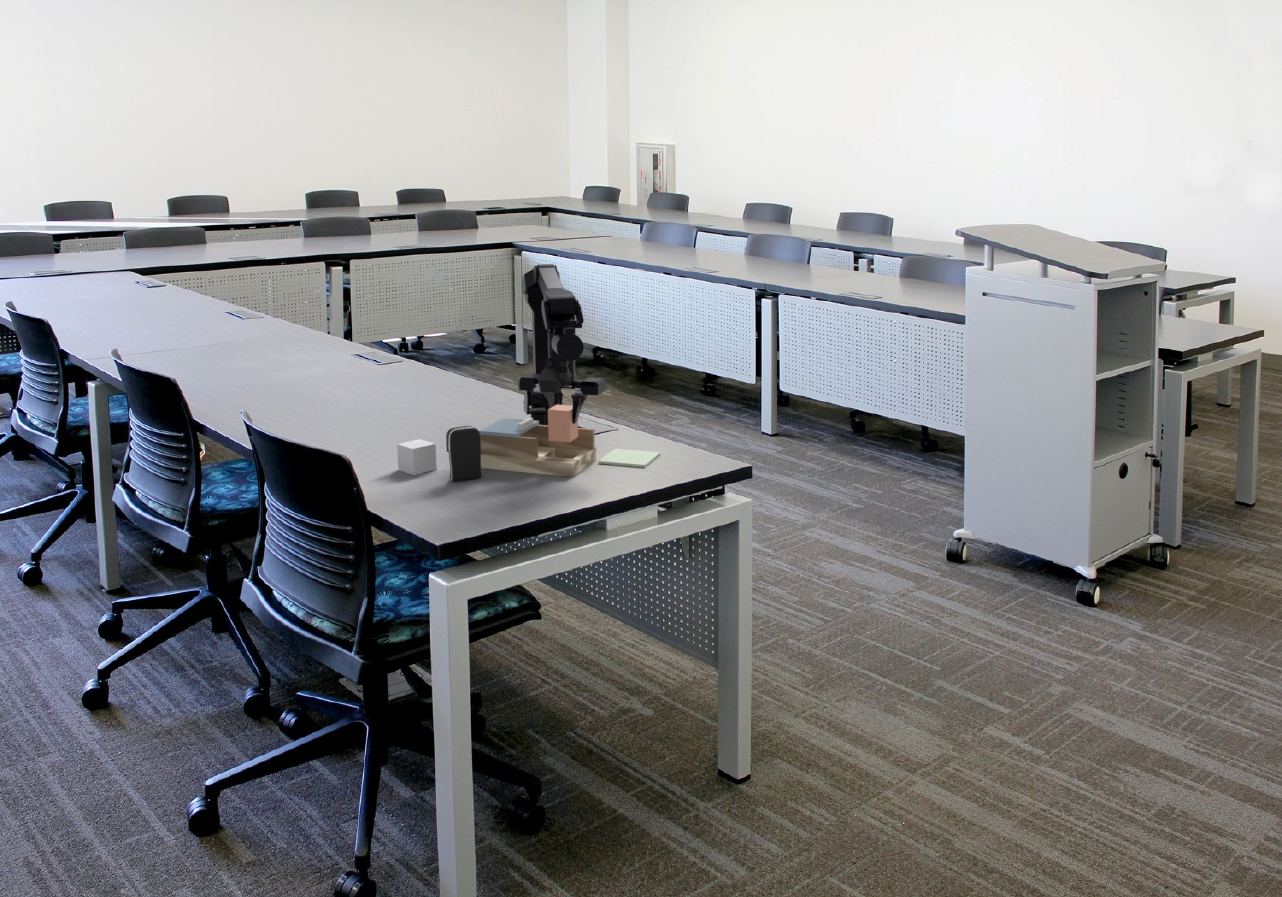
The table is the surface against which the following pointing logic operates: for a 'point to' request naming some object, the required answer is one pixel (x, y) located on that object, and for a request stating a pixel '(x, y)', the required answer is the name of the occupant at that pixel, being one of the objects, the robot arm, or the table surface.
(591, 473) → the table surface
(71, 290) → the table surface
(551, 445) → the open storage box
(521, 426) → the cover
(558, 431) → the block
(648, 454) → the sage mat
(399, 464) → the white cube
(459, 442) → the battery charger
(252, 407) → the table surface
